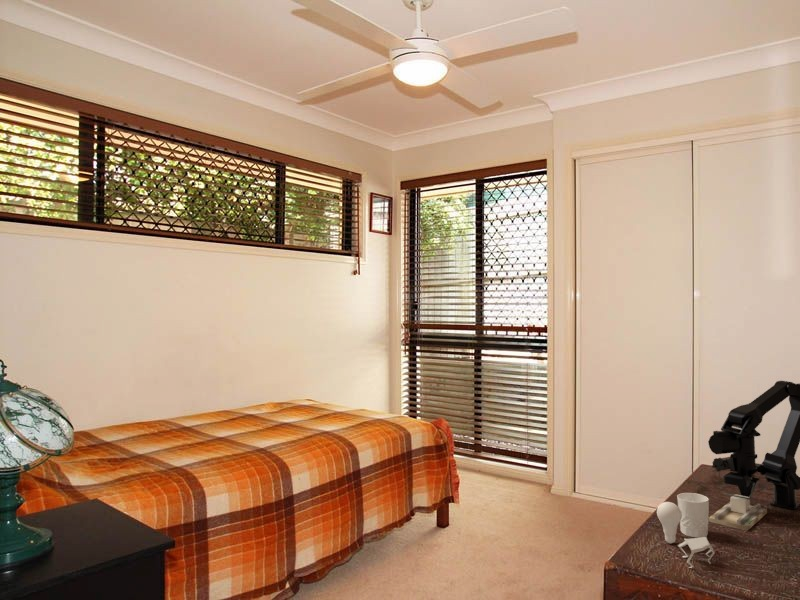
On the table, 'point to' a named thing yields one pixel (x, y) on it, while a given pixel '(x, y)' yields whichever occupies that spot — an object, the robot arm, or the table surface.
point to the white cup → (694, 514)
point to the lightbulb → (669, 519)
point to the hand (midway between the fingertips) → (746, 502)
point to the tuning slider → (739, 503)
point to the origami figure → (696, 547)
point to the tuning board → (738, 517)
